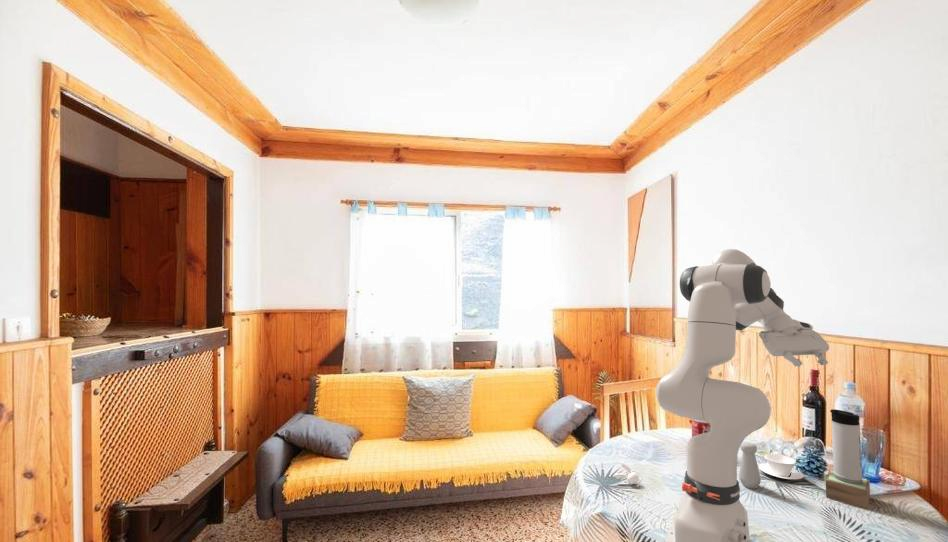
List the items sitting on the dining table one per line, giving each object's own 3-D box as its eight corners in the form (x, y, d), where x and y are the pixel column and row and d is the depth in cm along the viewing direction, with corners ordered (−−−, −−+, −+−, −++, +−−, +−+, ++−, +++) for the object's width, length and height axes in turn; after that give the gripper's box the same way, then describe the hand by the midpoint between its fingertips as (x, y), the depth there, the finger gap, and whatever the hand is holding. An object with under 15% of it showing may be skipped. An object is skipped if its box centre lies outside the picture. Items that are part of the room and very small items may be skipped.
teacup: (762, 463, 144) (761, 448, 144) (805, 474, 136) (805, 458, 136) (755, 475, 136) (754, 459, 136) (801, 487, 127) (800, 470, 128)
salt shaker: (764, 491, 125) (763, 447, 126) (743, 489, 126) (742, 446, 127) (755, 482, 131) (754, 440, 131) (735, 480, 132) (734, 439, 132)
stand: (868, 509, 115) (867, 489, 115) (826, 497, 121) (825, 479, 121) (870, 497, 121) (869, 479, 121) (829, 486, 127) (829, 469, 127)
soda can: (716, 452, 154) (715, 420, 155) (710, 457, 150) (709, 424, 150) (696, 447, 160) (695, 415, 160) (689, 452, 155) (688, 420, 155)
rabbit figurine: (637, 490, 126) (613, 472, 131) (634, 495, 129) (611, 477, 133) (645, 475, 129) (622, 458, 134) (642, 480, 132) (619, 463, 136)
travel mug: (827, 473, 125) (824, 407, 125) (851, 475, 124) (848, 407, 124) (842, 483, 118) (839, 413, 119) (868, 485, 117) (865, 414, 118)
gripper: (761, 325, 137) (789, 360, 127) (814, 323, 140) (846, 357, 130) (751, 337, 141) (777, 371, 131) (802, 335, 144) (832, 369, 134)
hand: (812, 364), depth 130 cm, fingers open, 8 cm apart
